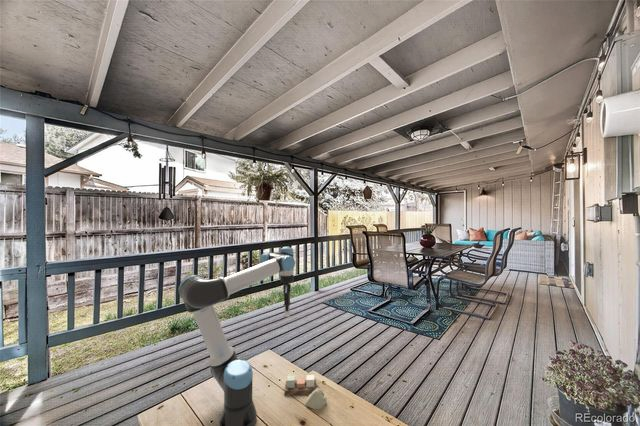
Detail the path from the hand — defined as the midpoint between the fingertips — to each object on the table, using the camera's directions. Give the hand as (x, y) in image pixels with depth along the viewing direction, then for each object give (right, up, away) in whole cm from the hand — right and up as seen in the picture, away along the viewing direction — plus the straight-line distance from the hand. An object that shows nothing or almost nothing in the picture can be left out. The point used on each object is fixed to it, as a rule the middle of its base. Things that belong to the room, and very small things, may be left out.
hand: (287, 316), depth 138 cm
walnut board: (+9, -32, -14) cm, 36 cm away
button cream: (+14, -30, -13) cm, 35 cm away
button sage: (+4, -30, -14) cm, 33 cm away
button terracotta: (+9, -31, -13) cm, 35 cm away
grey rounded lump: (+17, -32, -23) cm, 43 cm away
